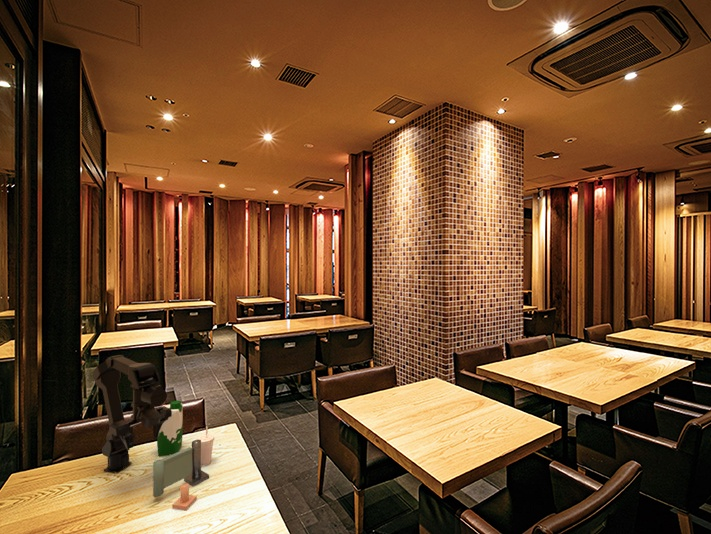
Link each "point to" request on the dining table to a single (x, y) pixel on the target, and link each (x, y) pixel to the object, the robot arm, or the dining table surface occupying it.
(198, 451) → the hinge post
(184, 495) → the post
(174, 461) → the gate
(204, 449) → the smoothie
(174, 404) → the milk carton
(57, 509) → the dining table surface
